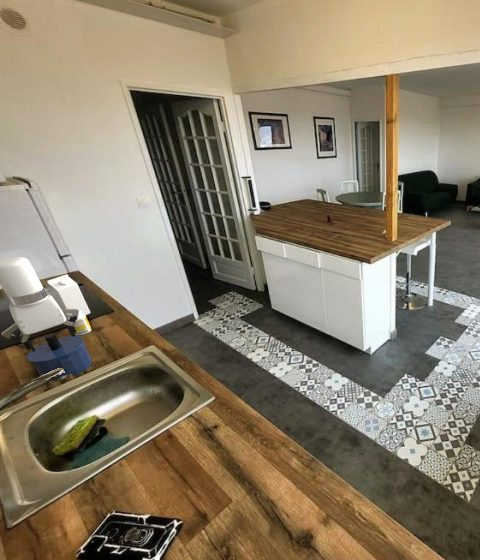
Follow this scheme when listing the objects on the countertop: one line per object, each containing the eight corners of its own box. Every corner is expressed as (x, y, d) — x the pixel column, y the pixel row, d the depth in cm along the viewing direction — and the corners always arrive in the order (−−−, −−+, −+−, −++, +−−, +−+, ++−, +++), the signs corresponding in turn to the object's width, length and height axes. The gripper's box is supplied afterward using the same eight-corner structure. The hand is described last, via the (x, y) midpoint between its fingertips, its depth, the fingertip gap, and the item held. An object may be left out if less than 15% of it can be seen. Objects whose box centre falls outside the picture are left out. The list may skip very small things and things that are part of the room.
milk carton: (60, 319, 135) (40, 280, 127) (79, 311, 141) (60, 273, 133) (73, 321, 133) (53, 282, 125) (90, 313, 140) (73, 275, 131)
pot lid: (33, 370, 95) (24, 354, 92) (23, 353, 102) (14, 338, 99) (90, 347, 105) (83, 332, 103) (78, 334, 112) (71, 319, 110)
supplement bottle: (83, 336, 124) (73, 315, 120) (70, 335, 124) (60, 315, 120) (95, 328, 129) (86, 308, 125) (82, 328, 129) (73, 308, 125)
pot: (49, 391, 98) (36, 370, 94) (35, 368, 107) (23, 348, 103) (99, 369, 107) (90, 349, 104) (83, 350, 116) (73, 331, 113)
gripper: (63, 283, 103) (84, 326, 111) (-17, 304, 90) (13, 351, 98) (69, 289, 99) (91, 333, 107) (-13, 312, 87) (18, 360, 94)
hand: (53, 342), depth 102 cm, fingers open, 9 cm apart
